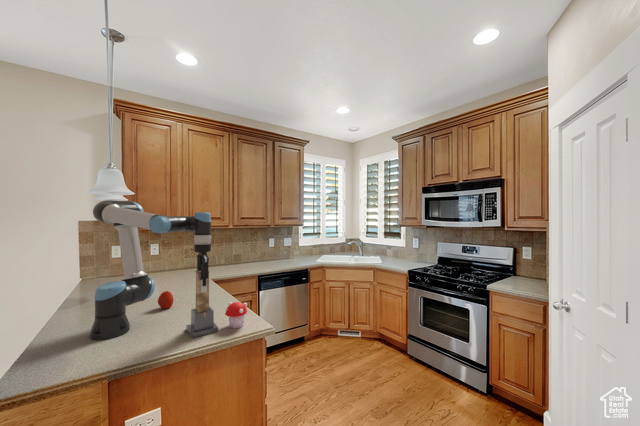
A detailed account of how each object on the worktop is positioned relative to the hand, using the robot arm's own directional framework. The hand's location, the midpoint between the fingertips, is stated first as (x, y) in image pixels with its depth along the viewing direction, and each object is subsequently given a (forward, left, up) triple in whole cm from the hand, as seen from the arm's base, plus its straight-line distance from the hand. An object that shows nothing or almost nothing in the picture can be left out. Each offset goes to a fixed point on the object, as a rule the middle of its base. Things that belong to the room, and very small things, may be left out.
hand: (202, 291), depth 132 cm
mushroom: (+16, -4, -19) cm, 25 cm away
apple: (-10, +47, -19) cm, 52 cm away
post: (0, 0, -11) cm, 11 cm away
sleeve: (0, 0, -19) cm, 19 cm away
